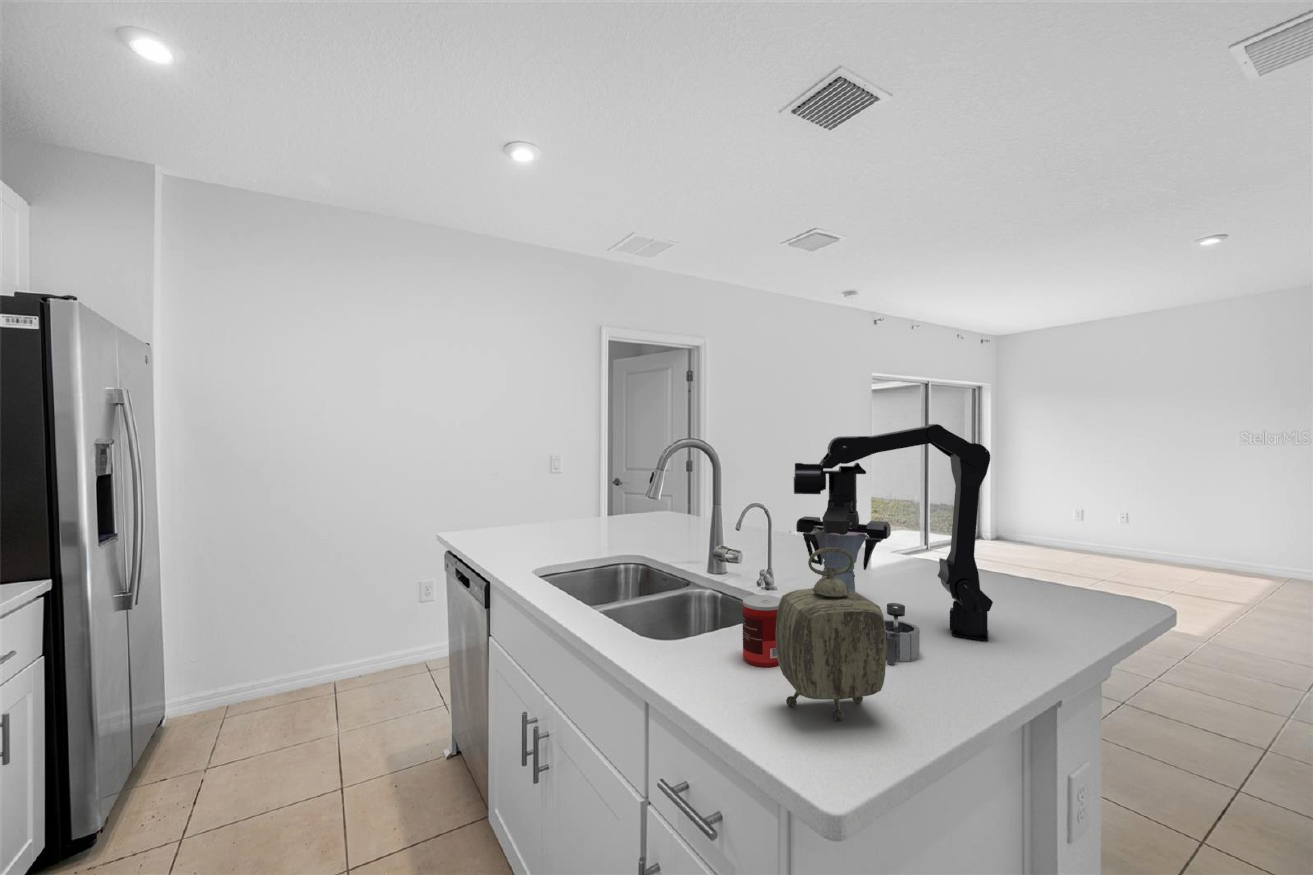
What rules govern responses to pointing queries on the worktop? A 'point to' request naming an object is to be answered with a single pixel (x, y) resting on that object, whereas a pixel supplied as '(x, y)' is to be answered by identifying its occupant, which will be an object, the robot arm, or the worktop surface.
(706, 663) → the worktop surface
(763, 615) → the canned food
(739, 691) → the worktop surface
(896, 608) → the plunger
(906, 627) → the press carafe
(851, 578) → the moka pot
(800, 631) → the tabletop clock
